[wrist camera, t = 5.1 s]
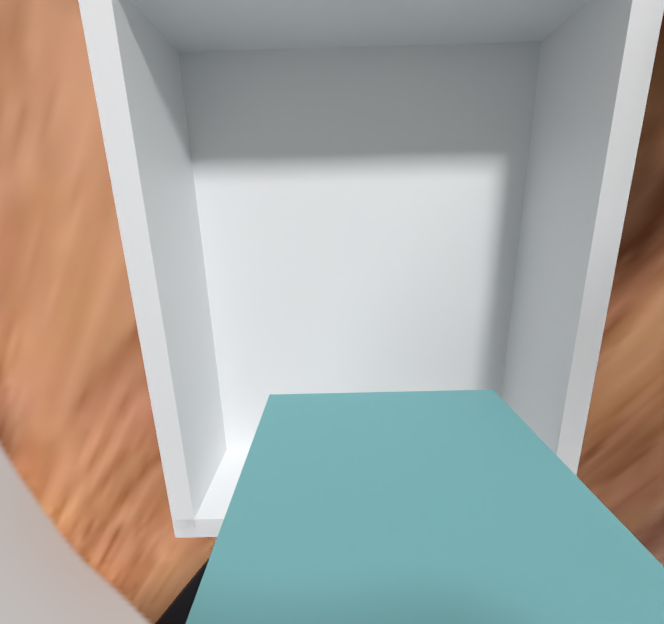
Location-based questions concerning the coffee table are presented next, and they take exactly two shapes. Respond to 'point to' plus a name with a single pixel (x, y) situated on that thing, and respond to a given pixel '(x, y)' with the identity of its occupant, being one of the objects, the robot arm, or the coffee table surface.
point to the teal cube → (417, 522)
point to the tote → (365, 205)
